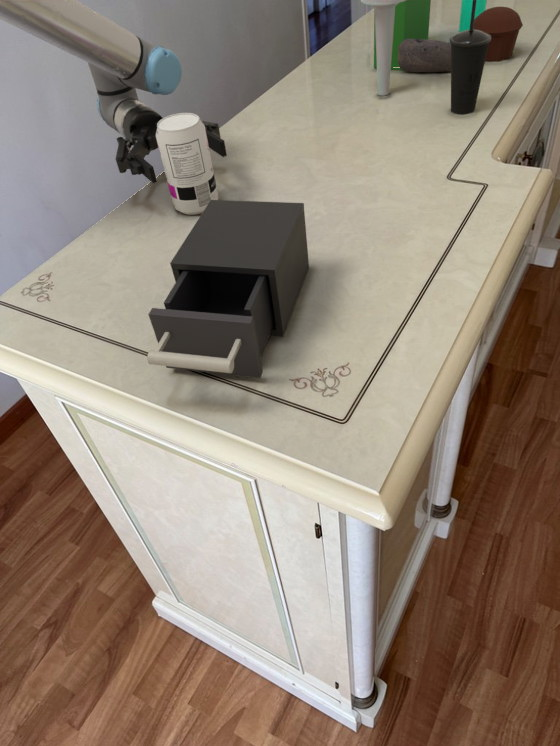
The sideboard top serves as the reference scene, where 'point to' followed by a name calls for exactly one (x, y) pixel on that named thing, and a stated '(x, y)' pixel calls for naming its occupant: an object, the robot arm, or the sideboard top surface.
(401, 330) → the sideboard top surface
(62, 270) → the sideboard top surface
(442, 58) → the perforated stone tool
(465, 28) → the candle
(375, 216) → the sideboard top surface
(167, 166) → the supplement can
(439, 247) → the sideboard top surface
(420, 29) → the hardback book
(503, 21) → the muffin
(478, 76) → the drinking cup
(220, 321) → the open drawer with handle
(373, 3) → the novelty light stick
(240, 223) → the drawer cabinet
